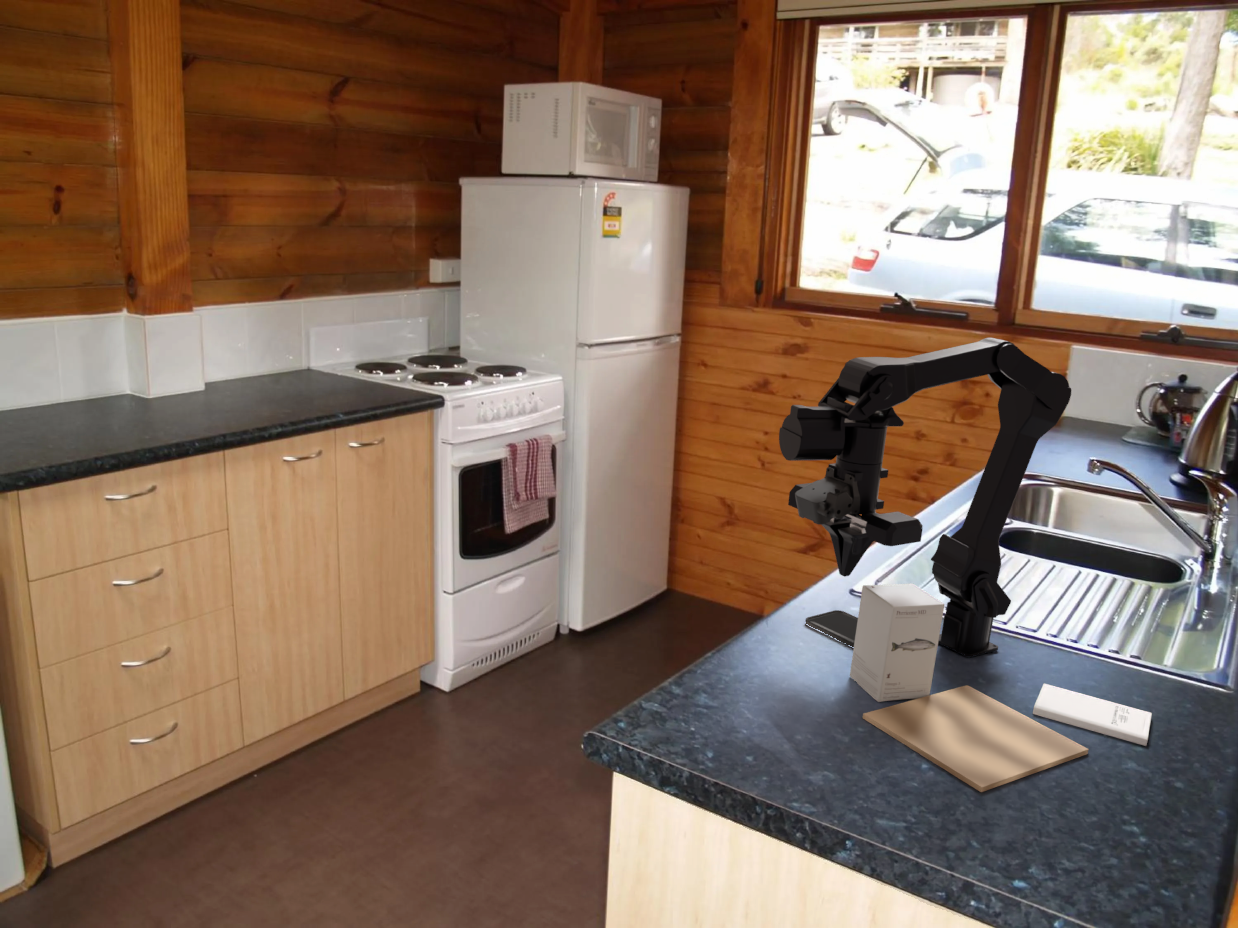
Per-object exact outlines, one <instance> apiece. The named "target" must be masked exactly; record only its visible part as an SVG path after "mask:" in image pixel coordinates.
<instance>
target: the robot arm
mask: <svg viewBox="0 0 1238 928" xmlns="http://www.w3.org/2000/svg"><path fill="white" fill-rule="evenodd" d="M982 376H987V377H988V379H989V380H990V381H991V383H993V384H994V385H995V386H996V387H998V389H1000V393H999V397H998V401H997V408H998V409H997V410H998V417H999V431H998V433H997V435H996V438H995V441H994V444H993V446H992V449H991V451H990V455H989V456H988V460H987V462H986V465H985V466H984V467H985V468H984V469H983V472H982V475H981V478H980V479H979V483H978V485H977V487H976V490H975V494H974V495H973V499H972V500H971V503H970V506H969V508H968V511H967V514H966V516H965V519H964V521H963V524H962V526H961V527H960V528H959V529H958V530H956V532H954V533H953V534H952V535H951V536H949V535H947V534H945V533H943V534H941V536H940V538H939V540H938V545H937V548H936V550H935V552H934V553H933V555H932V557H930V561H932V562H933V564H932V568H931V573H932V575H933V577H934V579H935V582H937V586H938V592H939V594H941V595H942V596H945V597H947V598H948V599H949V601H948V602H946V609H945V614H943V620H942V626H941V627H942V628H941V632H940V635H939V641H938V644H940V645H942V646H944V647H946V648H948V649H950V650H952V651H954V652H956V653H958V654H960V655H962V656H964V657H966V658H972V657H977V656H979V655H984V654H987V653H991V652H995V651H998V650H999V646H998V645H996V644H995V643H992V642H991V641H990V640H991V635H992V630H993V629H992V628H993V623H994V618H995V619H996V618H997V617H998V616H1004V615H1006V613H1007V611H1008V609H1009V607H1010V605H1011V603H1012V600H1011V598H1010V597H1009V596H1008V594H1006V592H1005V591H1004V590H1003V588H1002V587H1001V586H1000V583H998V579H999V575H1000V571H1001V567H1002V557H1001V551H1000V542H999V541H1000V537H1001V535H1002V533H1003V530H1004V528H1005V526H1006V523H1007V519H1008V517H1009V515H1010V512H1011V510H1012V507H1013V505H1014V502H1015V499H1016V497H1017V494H1018V492H1019V489H1020V487H1021V485H1022V482H1023V479H1024V476H1025V474H1026V471H1027V469H1028V466H1029V464H1030V462H1031V458H1032V456H1033V454H1034V451H1035V448H1036V446H1037V443H1038V442H1039V440H1040V439H1041V438H1042V437H1043V436H1044V435H1045V434H1047V433H1048V432H1049V431H1050V430H1052V429H1053V428H1054V427H1055V426H1056V425H1057V424H1058V423H1059V421H1060V419H1061V418H1062V415H1063V414H1064V411H1065V410H1066V408H1067V407H1068V405H1069V403H1070V400H1071V396H1072V388H1071V387H1070V384H1069V380H1068V379H1067V378H1066V376H1064V375H1063V374H1061V373H1058V372H1054V371H1051V370H1050V369H1048V367H1046V366H1044V365H1043V364H1042V363H1040V362H1038V361H1036V360H1035V359H1033V358H1032V357H1030V356H1029V355H1027V354H1026V353H1024V351H1022V350H1021V349H1020V348H1019V347H1018V346H1016V345H1015V343H1014V342H1011V341H1008V340H1004V339H1000V338H994V337H986V338H985V337H984V338H983V339H980V340H979V341H975V342H972V343H971V342H970V343H966V344H961V345H957V346H953V347H949V348H943V349H940V350H935V351H931V352H926V353H921V354H918V355H913V356H909V357H908V356H907V357H887V356H865V357H864V356H863V357H854V358H852V359H849V360H848V361H847V362H845V363H844V366H843V368H842V369H841V371H840V373H839V376H838V378H837V379H836V381H835V382H834V383H833V384H832V386H830V388H829V390H827V392H825V394H824V395H823V397H822V398H821V399H820V400H819V402H818V403H817V406H808V405H807V406H805V405H802V404H792V405H791V406H790V412H789V413H790V414H788V415H786V416H785V418H784V419H783V422H782V424H781V426H780V427H779V430H778V431H779V432H778V442H779V448H780V452H781V454H782V456H783V457H784V459H785V460H787V461H791V462H793V461H797V462H798V461H799V462H800V461H833V460H834V459H835V463H829V464H828V465H827V467H826V470H825V475H824V477H823V478H821V479H817V480H815V481H813V482H810V483H809V482H808V483H799V484H795V485H794V486H793V487H792V489H790V491H789V494H788V495H789V496H788V504H787V505H788V506H789V507H792V508H795V509H797V512H798V516H799V518H802V519H804V518H805V519H807V520H809V521H812V522H813V523H814V524H816V525H821V526H822V527H823V528H824V529H825V531H827V532H828V534H829V536H830V539H831V543H832V547H833V551H834V556H835V561H836V564H837V568H838V573H839V575H840V576H842V577H849V576H850V575H851V574H852V573H853V571H854V569H856V567H857V565H858V563H859V562H860V560H861V559H862V558H863V556H864V555H865V553H866V552H867V550H868V549H869V548H870V547H871V546H872V544H873V543H874V542H875V543H878V544H879V545H882V546H885V547H896V546H901V545H908V544H909V545H910V544H914V543H920V542H921V541H922V536H923V524H922V523H921V521H920V520H919V519H918V518H916V517H913V516H910V515H909V514H905V513H903V512H901V511H893V512H886V513H877V512H876V511H877V510H883V509H884V505H885V500H882V499H880V498H879V490H880V483H881V479H885V478H888V477H889V469H887V468H885V467H883V462H884V461H883V460H884V455H885V454H884V453H885V446H886V440H887V433H888V432H887V431H888V427H903V426H904V424H905V422H904V420H902V419H901V418H900V416H899V415H898V414H897V413H896V411H895V410H894V407H896V406H898V405H900V404H902V403H905V402H907V401H908V400H909V399H910V398H911V397H913V396H914V395H915V394H916V393H918V392H921V391H923V390H927V389H931V388H936V387H940V386H944V385H948V384H952V383H957V382H962V381H965V380H966V381H967V380H970V379H974V378H978V377H982ZM846 401H848V402H851V403H853V404H851V403H848V402H846Z"/></svg>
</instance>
